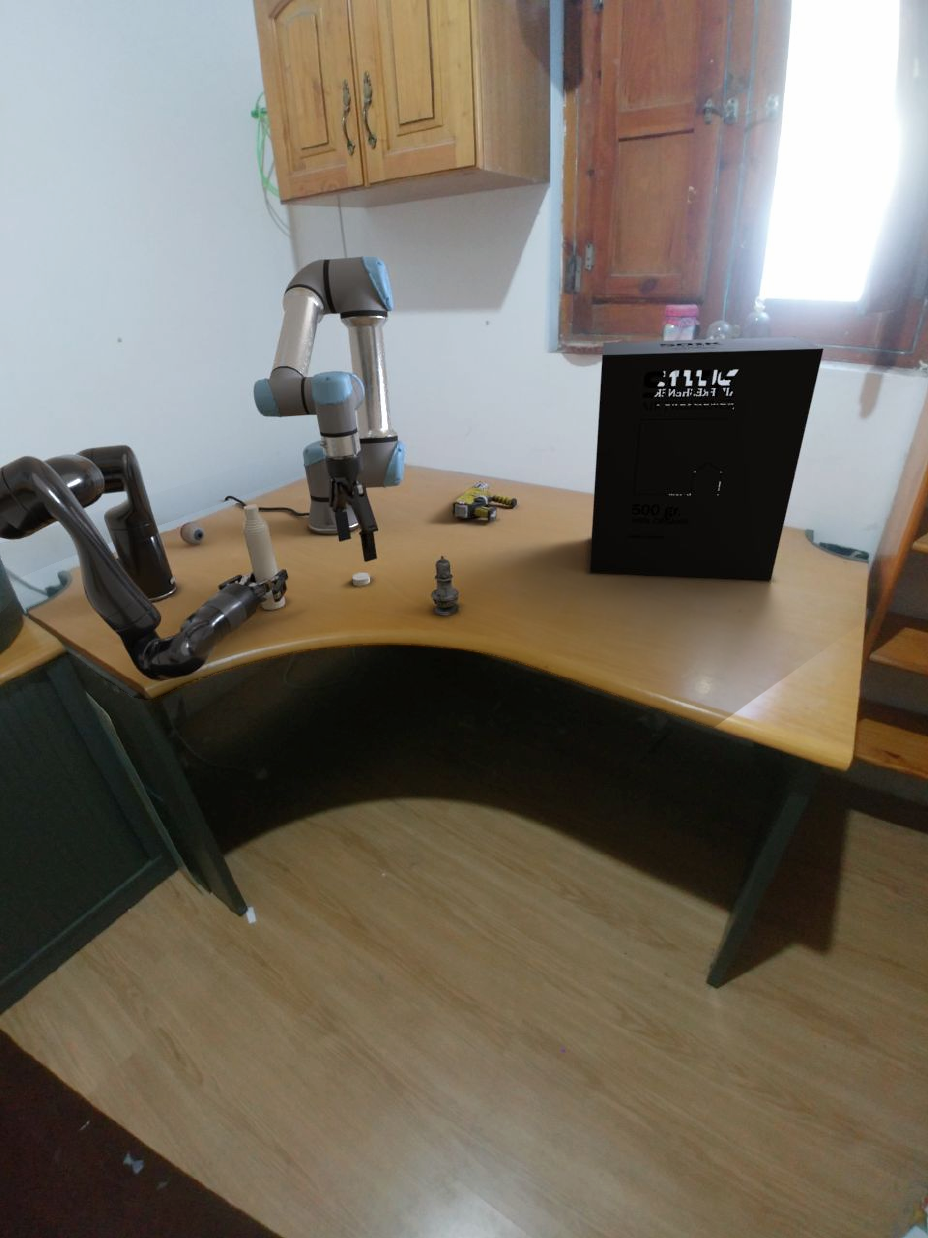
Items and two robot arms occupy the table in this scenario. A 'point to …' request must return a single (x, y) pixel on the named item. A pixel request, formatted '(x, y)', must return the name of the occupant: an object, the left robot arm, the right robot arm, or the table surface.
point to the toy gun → (479, 503)
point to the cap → (361, 579)
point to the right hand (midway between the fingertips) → (357, 549)
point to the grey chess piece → (444, 590)
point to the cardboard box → (698, 455)
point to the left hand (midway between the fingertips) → (273, 572)
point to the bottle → (260, 551)
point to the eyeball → (192, 533)
